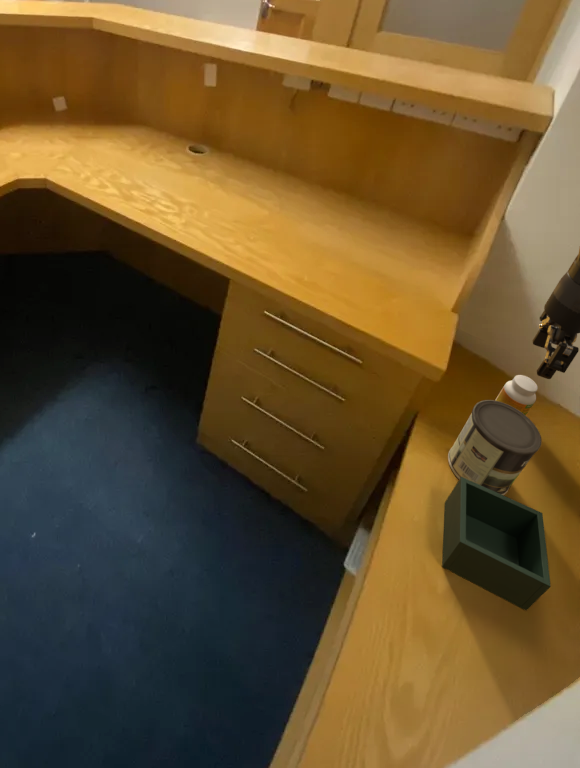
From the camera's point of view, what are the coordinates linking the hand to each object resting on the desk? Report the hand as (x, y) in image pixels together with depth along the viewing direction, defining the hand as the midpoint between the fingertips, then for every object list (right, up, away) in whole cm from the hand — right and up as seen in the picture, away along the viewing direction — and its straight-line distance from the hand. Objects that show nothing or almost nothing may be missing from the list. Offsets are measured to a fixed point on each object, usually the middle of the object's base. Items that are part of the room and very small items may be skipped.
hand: (540, 360), depth 99 cm
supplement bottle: (0, -14, +9) cm, 17 cm away
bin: (-21, -28, -14) cm, 37 cm away
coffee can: (-14, -21, -2) cm, 25 cm away
